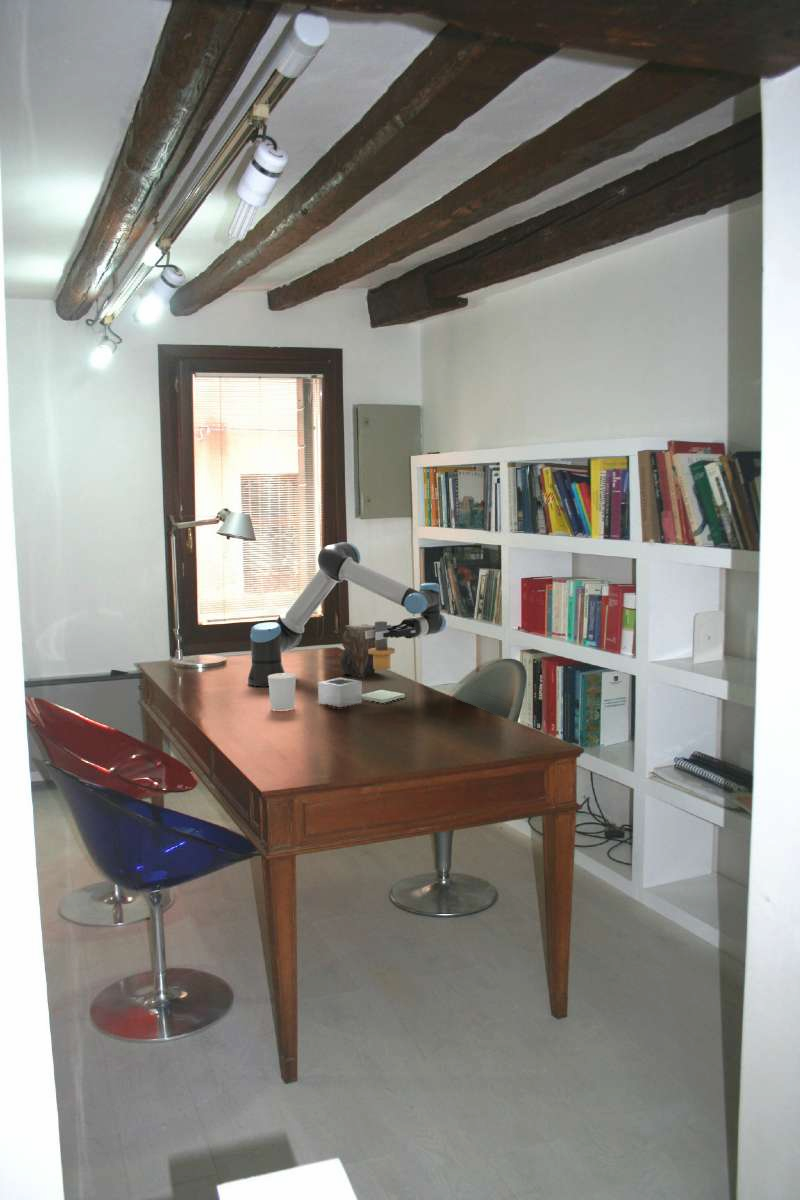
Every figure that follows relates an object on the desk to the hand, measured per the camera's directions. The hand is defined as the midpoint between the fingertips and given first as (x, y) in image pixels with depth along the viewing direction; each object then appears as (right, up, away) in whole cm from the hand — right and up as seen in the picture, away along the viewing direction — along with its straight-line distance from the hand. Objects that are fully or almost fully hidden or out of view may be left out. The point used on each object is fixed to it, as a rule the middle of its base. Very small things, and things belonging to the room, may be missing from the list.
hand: (371, 635), depth 376 cm
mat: (+4, -23, +7) cm, 25 cm away
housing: (-11, -24, 0) cm, 27 cm away
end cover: (+4, -12, +6) cm, 14 cm away
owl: (-6, -18, +53) cm, 56 cm away
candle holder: (-31, -26, -7) cm, 41 cm away
